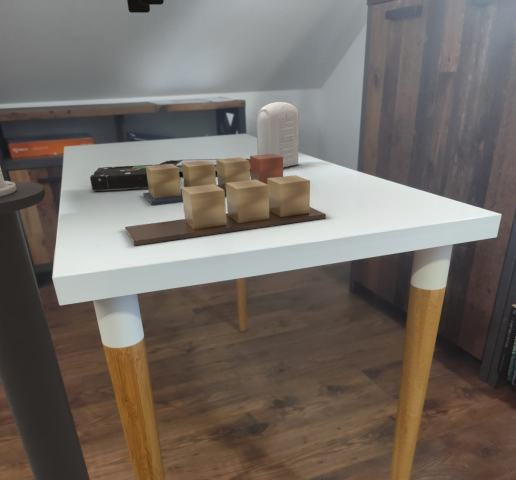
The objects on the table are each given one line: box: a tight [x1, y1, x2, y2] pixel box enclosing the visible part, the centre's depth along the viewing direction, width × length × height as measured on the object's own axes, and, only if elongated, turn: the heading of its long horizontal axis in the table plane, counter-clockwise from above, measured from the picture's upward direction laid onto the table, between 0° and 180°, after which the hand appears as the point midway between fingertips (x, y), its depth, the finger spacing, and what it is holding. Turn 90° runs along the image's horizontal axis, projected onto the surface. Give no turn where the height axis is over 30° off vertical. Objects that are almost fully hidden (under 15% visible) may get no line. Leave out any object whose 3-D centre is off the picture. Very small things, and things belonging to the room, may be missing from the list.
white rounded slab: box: [256, 101, 300, 168], centre depth 101 cm, size 10×4×12 cm, turn 139°
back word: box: [142, 156, 251, 206], centre depth 83 cm, size 24×7×5 cm, turn 112°
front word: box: [124, 174, 327, 247], centre depth 65 cm, size 26×7×5 cm, turn 112°
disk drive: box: [89, 163, 175, 192], centre depth 92 cm, size 10×3×15 cm
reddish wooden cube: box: [249, 154, 284, 184], centre depth 85 cm, size 4×4×4 cm
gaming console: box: [159, 158, 251, 177], centre depth 100 cm, size 19×9×2 cm, turn 84°
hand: (145, 8), depth 71 cm, fingers open, 9 cm apart
